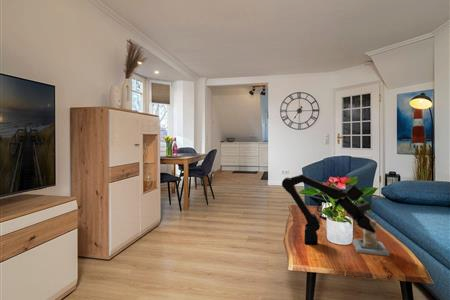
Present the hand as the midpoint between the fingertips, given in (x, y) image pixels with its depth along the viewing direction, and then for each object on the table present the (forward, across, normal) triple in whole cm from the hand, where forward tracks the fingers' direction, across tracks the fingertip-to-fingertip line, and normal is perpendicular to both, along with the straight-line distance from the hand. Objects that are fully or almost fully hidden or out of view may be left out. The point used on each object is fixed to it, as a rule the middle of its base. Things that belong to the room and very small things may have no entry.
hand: (372, 229), depth 129 cm
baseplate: (+6, 0, +8) cm, 10 cm away
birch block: (+5, 0, +7) cm, 9 cm away
